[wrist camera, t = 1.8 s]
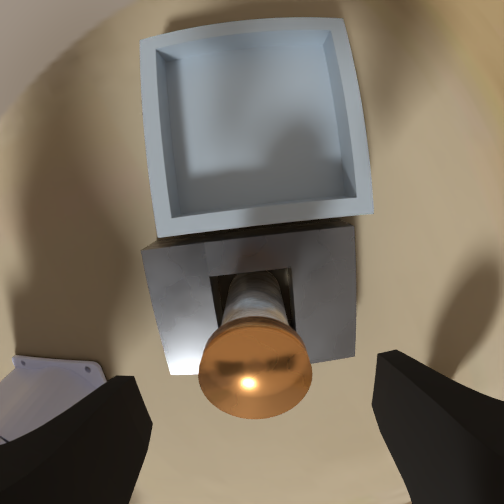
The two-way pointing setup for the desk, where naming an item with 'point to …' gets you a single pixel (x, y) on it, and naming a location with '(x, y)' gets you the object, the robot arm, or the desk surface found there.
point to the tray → (253, 125)
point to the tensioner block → (251, 260)
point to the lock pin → (255, 353)
